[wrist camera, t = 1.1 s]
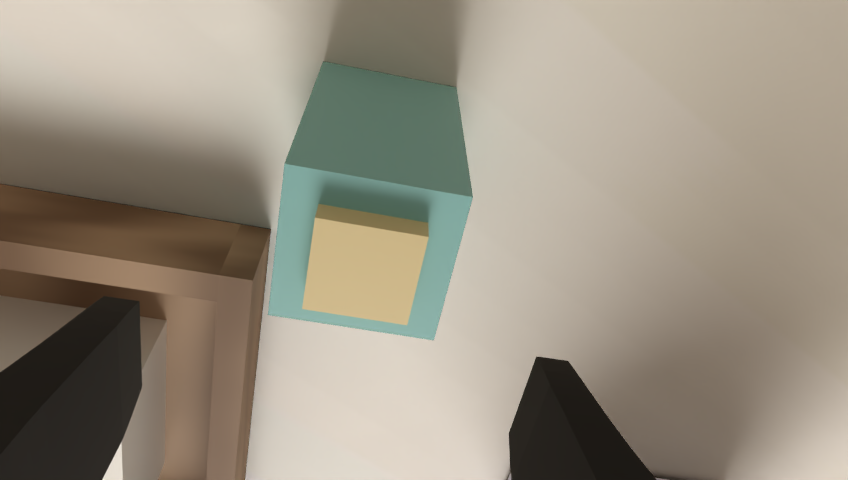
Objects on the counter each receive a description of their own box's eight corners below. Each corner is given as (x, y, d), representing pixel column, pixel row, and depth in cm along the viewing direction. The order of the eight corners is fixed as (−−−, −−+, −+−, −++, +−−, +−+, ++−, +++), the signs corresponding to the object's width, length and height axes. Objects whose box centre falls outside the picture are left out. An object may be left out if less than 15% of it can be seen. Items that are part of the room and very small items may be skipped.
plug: (456, 87, 21) (474, 210, 14) (429, 202, 23) (434, 356, 16) (323, 61, 20) (279, 176, 14) (307, 181, 22) (263, 330, 16)
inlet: (166, 320, 25) (120, 413, 21) (164, 461, 28) (125, 562, 25) (-57, 286, 24) (-147, 377, 20) (-27, 437, 28) (-99, 537, 24)
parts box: (270, 229, 23) (252, 280, 21) (239, 526, 31) (224, 590, 29) (-180, 154, 22) (-261, 199, 19) (-89, 488, 30) (-137, 551, 27)
